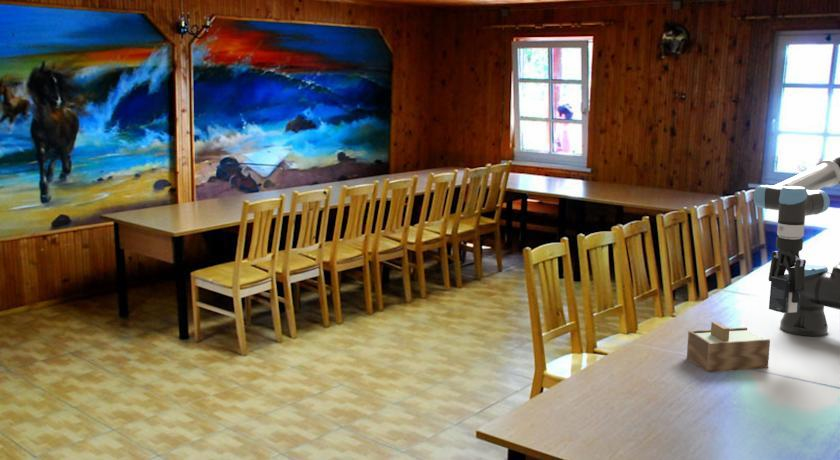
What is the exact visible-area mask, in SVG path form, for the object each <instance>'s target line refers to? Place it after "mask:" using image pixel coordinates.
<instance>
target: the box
mask: <svg viewBox="0 0 840 460" xmlns="http://www.w3.org/2000/svg"><path fill="white" fill-rule="evenodd" d="M789 291H791V287H790V280H789V274H788V273H784V275H780V276H775V277H772V279H771V281H770V292H769V303H768V309H769V310H772V311H775V312H779V313H781V314H784V313H786V312H787V310H788V298H789ZM800 296H801V292H799V299H798V303H797V310H799V308H800Z"/></svg>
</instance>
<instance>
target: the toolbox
mask: <svg viewBox="0 0 840 460" xmlns="http://www.w3.org/2000/svg"><path fill="white" fill-rule="evenodd" d="M729 328H730V327H729ZM739 330H748V327H746V326H745V327H732V328H730V329H729V331H739ZM687 332H688V333H687V347H686V348H687V350H686V359H688V360H689V361H691V362H692V363H693V364H695V365H696V366H698V367H699V368H701V369H702V370H703V371H705V372H707V373H717V372H730V371H731V370H733V371H747V370H758V369H759V370H761V369H768V368H769V358H770V356H769V355H770V346H771V345H770V343H771V340H770V339H769V338H768V339H767V338H766V339H765V338H764V339H765V340H750V341H734V342H718V343H710V342H708V341H707V340H705V339H703V338H702V337H700V336H699V335H697V334H695V333H707V332H711V329H701V330H700V329H698V330H688V331H687ZM731 372H732V371H731Z"/></svg>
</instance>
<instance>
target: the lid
mask: <svg viewBox="0 0 840 460" xmlns="http://www.w3.org/2000/svg"><path fill="white" fill-rule="evenodd" d="M729 329H730V327H728V326H726V325H724V324H722V323H721V322H718V321H712V322H711V325H710V330H711V332H707V333H695V334H697V335H699V336H700V337H702V338H703V339H705V340H707V341H708V342H710V343H718V342H734V341H750V340H765V338H763V337H762V336H759V335H758V334H755V333H753V332H752V331H751V330H749V329H747V330H739V331H729Z"/></svg>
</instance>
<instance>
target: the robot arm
mask: <svg viewBox="0 0 840 460" xmlns="http://www.w3.org/2000/svg"><path fill="white" fill-rule="evenodd" d="M834 186H840V154H836V155H833V156H830V157H827V158H824V159H822V160H821V161H819V162H818V163H816V165H815V166H814V167H812V168H809V169H808V170H805V171H803V172H801V173H798V174H796V175H794V176H791V177H790V178H787V179H784V180H783V181H781V182H778V183H775V184H774V185H769V184H765V185H764V184H761V185H758V186H757V187H756V188H755V190H754V192H753V203H754V205H755V206H756V207H757V208H762V209H766V210H775V211H778V217H777V228H776V229H777V230H776V234H777V236H776V239H775V248H776V249H777V250H775V251H774V250H773V251H771V260H770V268H769V274H768V282H771V279H772V277H775V276H780V275H785V274H786V271H787V274H789V280H790V287H791V291H789V298H788V310H787V312H786V313H783V315H782V318H781V320H780V326H779V327H780V329H781V330H783V331H784V332H787V333H790V334H794V335H796V336H797V335H798V336H804V337H805V336H806V337H820V336H824V335H827V334H828V329H829V326H828V321H827V319H826V315H825V307H827V308H831V309H836V310H840V262H839V263H838V264H836V265H835V266H833V268H832V271H831V272H829V269H828V267H827V266H825V265H816V264H814V265H813V264H811V265H810V264H809V265H808V264H806V262H807V261H806V259H802V258H800V252H801V251H802V250H803V246H804V239H803V237H804V235H805V222H806V216H807V217H808V216H812V215H813V216H814V215H819V214H822V213H824V212H826V211H827V209H828V208H829V206H830V205H831V204H830V203H831V200H830V197H829V195H828V193H827V192H826V191H824V190H821V189H823V188H826V187H828V188H831V187H834ZM799 292H801V296H800V308H799V310H797V303H798V299H799Z"/></svg>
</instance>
